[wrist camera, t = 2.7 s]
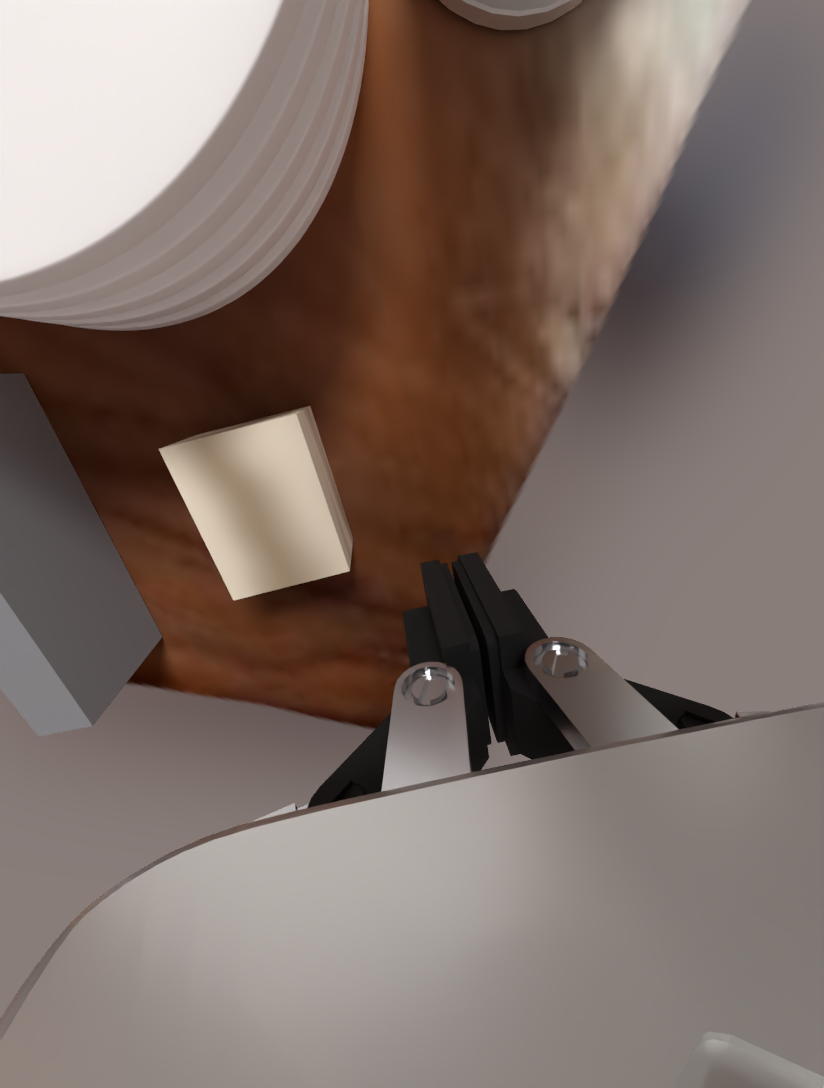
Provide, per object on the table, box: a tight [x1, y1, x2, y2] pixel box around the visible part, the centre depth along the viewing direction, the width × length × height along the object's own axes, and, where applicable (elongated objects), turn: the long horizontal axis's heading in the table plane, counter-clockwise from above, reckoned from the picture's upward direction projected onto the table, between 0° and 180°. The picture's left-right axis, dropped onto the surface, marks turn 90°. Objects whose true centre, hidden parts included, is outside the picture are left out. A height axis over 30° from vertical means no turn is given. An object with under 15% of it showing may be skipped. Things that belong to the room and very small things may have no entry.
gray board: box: [0, 373, 162, 737], centre depth 22 cm, size 3×18×8 cm, turn 10°
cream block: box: [159, 406, 353, 600], centre depth 24 cm, size 7×9×5 cm
